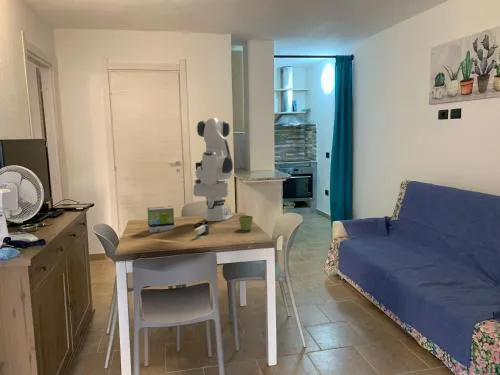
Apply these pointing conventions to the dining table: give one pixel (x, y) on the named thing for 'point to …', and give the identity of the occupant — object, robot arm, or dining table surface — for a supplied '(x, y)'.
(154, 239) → the dining table surface
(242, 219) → the plant pot
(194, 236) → the dial
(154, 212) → the tea box
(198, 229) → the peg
